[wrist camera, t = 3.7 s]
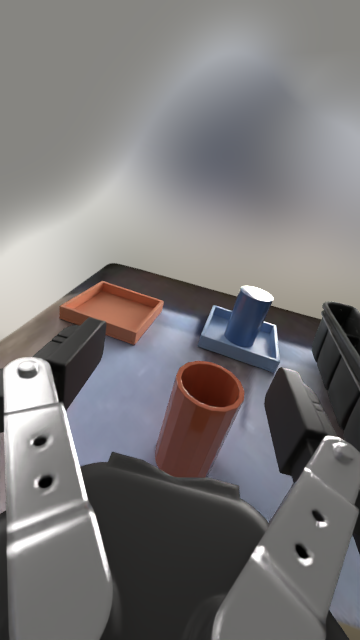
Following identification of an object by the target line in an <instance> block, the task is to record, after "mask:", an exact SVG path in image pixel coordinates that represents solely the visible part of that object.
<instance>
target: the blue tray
mask: <svg viewBox="0 0 360 640" xmlns="http://www.w3.org/2000/svg"><path fill="white" fill-rule="evenodd" d="M231 313H232V311H230V310H227V309H224V308H221V307H218V306H215V305H213V307H212V310H211V312H210V314H209V317H208V319H207V322H206V324H205V327H204V329H203V331H202V334H201V337H200V340H199V343H198V347H201V348H204V349H207V350H210V351H212V352H215V353H218V354H221V355H224V356H227V357H230V358H233V359H236V360H238V361H241V362H244V363H247V364H250V365H253V366H256V367H259V368H261V369H264V370H267V371H270V372H273V373H275V371H276V369H277V367H278V365H279V363H280V358H279V349H278V339H277V329H276V325H273V324H270V323H267V322H263V324H262V327H261V329H260V331H259V334H258V336H257V338H256V340H255V343H254V345H253V346H251V347H240V346H237V345H235V344H233V343H231V342H230V341H228V340H227V339H226V338H225V336H224V332H225V329H226V326H227V324H228V321H229V318H230V315H231Z"/></svg>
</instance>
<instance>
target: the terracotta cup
mask: <svg viewBox="0 0 360 640" xmlns="http://www.w3.org/2000/svg"><path fill="white" fill-rule="evenodd" d="M243 401H244V389H243V387H242V385H241V382H240V381H239V380H238V379H237V378H236V377H235V375H234V374H233V373H232V372H230V371H228V370H227V369H225V368H224V367H222V366H220V365H217V364H214V363H211V362H205V361H194V362H189V363H186V364H185V365H183V366H182V367H180V368H179V371H178V373H177V375H176V378H175V381H174V385H173V389H172V392H171V396H170V399H169V403H168V406H167V410H166V413H165V417H164V420H163V424H162V427H161V431H160V434H159V438H158V441H157V445H156V450H155V459H156V463H157V466H158V468H159V469H160V470H162V471H164V472H166V473H167V474H169V475H171V476H174V477H207V475H208V474H209V472H210V470H211V469H212V466H213V464H214V462H215V460H216V458H217V456H218V454H219V452H220V449H221V447H222V445H223V443H224V441H225V439H226V437H227V435H228V433H229V430H230V428H231V426H232V424H233V422H234V420H235V418H236V416H237V414H238V411H239V409H240V407H241V405H242V403H243Z"/></svg>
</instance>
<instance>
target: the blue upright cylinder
mask: <svg viewBox="0 0 360 640" xmlns="http://www.w3.org/2000/svg"><path fill="white" fill-rule="evenodd" d="M272 302H273V297H272V295H270V294H269V293H268V292H266V291H264V290H261V289H259V288H256V287H251V286H242V287H241V288H240V291H239V293H238V296H237V299H236V302H235V304H234V307H233V310H232V313H231V315H230V318H229V321H228V324H227V326H226V329H225V332H224V336H225V338H226V339H227V340H228V341H230V342H231V343H233V344H235V345H237V346H240V347H251V346H253V345H254V343H255V340H256V338H257V336H258V334H259V331H260V329H261V327H262V324H263V322H264V320H265V318H266V315H267V313H268V311H269V308H270V306H271V304H272Z"/></svg>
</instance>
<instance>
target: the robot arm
mask: <svg viewBox="0 0 360 640" xmlns="http://www.w3.org/2000/svg"><path fill="white" fill-rule="evenodd" d="M106 325H107V324H106V321H102V320H99V319H95V318H91V317H89V318H88V319H86V320H85V321H84V322H83V323H82V324H81V325H80V326H79V325H72V326H69V327H67V328H64V329H63V330H62V331H61V332H60V333H59V334H58V335H57V336H55V337H54V338H53V339H52V341H50V342H48V343H47V344H46V345H45V346H44V347H43V348H42V349H41V350H39V351H38V352H37V353H36V354H35V355H34V356H33V357H25V358H20V359H17V360H14V361H12V362H10V363H9V364H8V365H6V367H5V368H3V369H0V432H4V443H5V480H6V511H4V512H3V513H1V514H0V640H349V638H348V637H347V635H346V634H345V633H344V631H343V629H342V628H341V627H340V625H339V624H338V622H337V621H336V619H335V618H334V616H333V615H332V613H331V612H330V611H329V607H330V604H331V601H332V598H333V594H334V591H335V588H336V585H337V581H338V578H339V575H340V572H341V569H342V565H343V562H344V559H345V556H346V553H347V549H348V546H349V543H350V540H351V536H352V534H353V537H354V540H355V543H356V545H357V548H358V551H359V554H360V453H359V452H358V451H357V450H356V449H355V448H354V447H353V446H352V445H351V444H349V443H348V442H346V441H344V440H342V439H340V438H338V437H337V435H336V433H335V431H334V429H333V427H332V425H331V423H330V421H329V419H328V417H327V415H326V413H324V409H323V407H322V405H320V404H321V403H320V401H319V399H318V397H317V395H316V394H315V393H314V392H313V391H312V390H311V389H310V387H309V386H308V385H304V382H303V380H302V378H301V376H300V374H299V372H297V371H294V370H290V369H286V368H282V367H281V368H279V369H278V371H277V372H276V375H275V377H274V379H273V381H272V383H271V385H270V387H269V389H268V391H267V393H266V397H265V403H264V405H265V411H266V415H267V419H268V424H269V428H270V433H271V437H272V441H273V446H274V450H275V454H276V459H277V463H278V467H279V472H280V473H282V474H286V475H290V476H292V479H293V482H294V484H293V485H292V487H291V488H290V490H289V491H288V493H287V495H286V496H285V498H284V499H283V501H282V503H281V504H280V506H279V507H278V509H277V510H276V512H275V514H274V515H273V517H272V518H271V520H270V521H269V523H268V522H267V520H266V519H265V518H264V517H263V516H262V515H261V514H260V513H259V512H258V511H257V510H256V509H255V508H253V507H252V506H251V505H250V504H248V503H247V502H245V501H244V500H242V499H240V494H239V486H237V485H234V484H230V483H226V482H223V481H219V480H215V479H211V478H208V477H174V476H171V475H169V474H167V473H166V472H164V471H162V470H160V469H158V468H157V467H155V466H153V465H151V464H149V463H147V462H146V461H144V460H141V459H137V458H133V457H130V456H126V455H122V454H118V453H115V452H112V453H111V456H110V458H109V461H108V462H99V463H92V464H88V465H84V466H81V467H79V463H78V459H77V455H76V451H75V447H74V443H73V439H72V435H71V431H70V427H69V423H68V419H67V415H66V410H67V409H68V407H69V406H70V404H71V403H72V402H73V400H74V399H75V397H76V396H77V394H78V393H79V391H80V390H81V389H82V387H83V386H84V384H85V383H86V381H87V380H88V378H89V377H90V376H91V374H92V373H93V371H94V370H95V368H96V367H97V365H98V364H99V362H100V360H101V358H102V355H103V350H104V342H105V334H106Z"/></svg>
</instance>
